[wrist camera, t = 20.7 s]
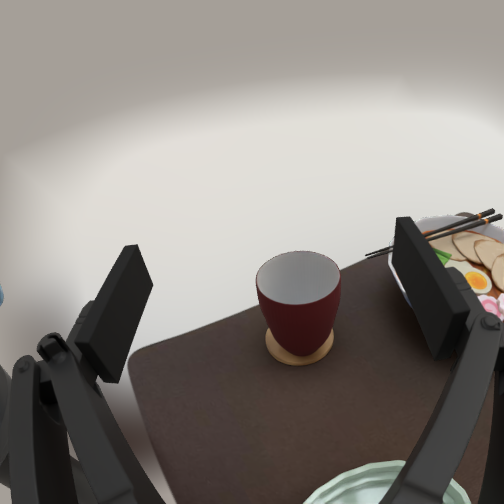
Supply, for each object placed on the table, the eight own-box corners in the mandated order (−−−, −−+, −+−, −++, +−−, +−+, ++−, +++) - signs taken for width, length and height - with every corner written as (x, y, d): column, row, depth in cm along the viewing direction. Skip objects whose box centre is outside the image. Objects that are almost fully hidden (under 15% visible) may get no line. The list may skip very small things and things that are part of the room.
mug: (258, 312, 41) (246, 247, 36) (319, 298, 41) (317, 232, 36) (274, 379, 32) (263, 314, 27) (347, 361, 33) (354, 292, 27)
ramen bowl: (431, 415, 25) (458, 369, 21) (345, 281, 44) (347, 230, 40) (558, 327, 28) (582, 280, 23) (469, 241, 46) (478, 198, 42)
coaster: (289, 377, 33) (289, 374, 33) (254, 333, 39) (253, 330, 39) (347, 342, 35) (347, 339, 35) (308, 305, 42) (307, 302, 41)
